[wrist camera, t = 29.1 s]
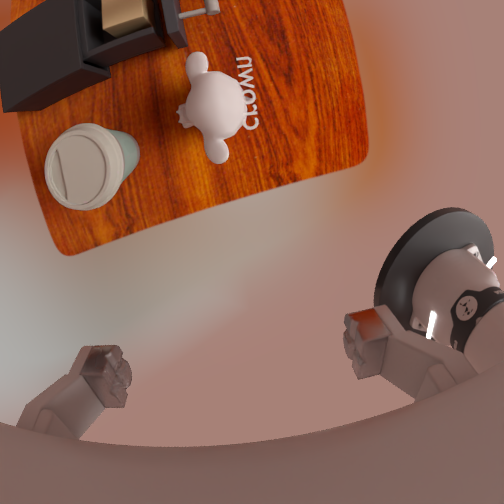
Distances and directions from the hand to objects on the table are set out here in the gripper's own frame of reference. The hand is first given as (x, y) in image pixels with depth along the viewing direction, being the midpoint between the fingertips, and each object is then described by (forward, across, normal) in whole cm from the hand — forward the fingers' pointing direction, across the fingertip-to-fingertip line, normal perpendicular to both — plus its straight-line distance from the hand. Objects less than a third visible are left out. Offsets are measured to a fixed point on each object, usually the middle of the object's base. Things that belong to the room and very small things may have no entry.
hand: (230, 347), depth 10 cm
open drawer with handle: (+28, +6, -23) cm, 37 cm away
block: (+27, +8, -22) cm, 36 cm away
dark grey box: (+29, +19, -22) cm, 41 cm away
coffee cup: (+29, +13, -6) cm, 33 cm away
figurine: (+29, 0, -9) cm, 31 cm away
